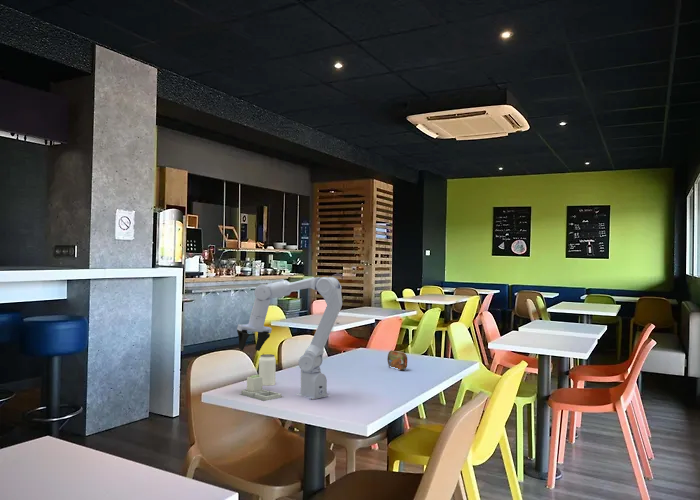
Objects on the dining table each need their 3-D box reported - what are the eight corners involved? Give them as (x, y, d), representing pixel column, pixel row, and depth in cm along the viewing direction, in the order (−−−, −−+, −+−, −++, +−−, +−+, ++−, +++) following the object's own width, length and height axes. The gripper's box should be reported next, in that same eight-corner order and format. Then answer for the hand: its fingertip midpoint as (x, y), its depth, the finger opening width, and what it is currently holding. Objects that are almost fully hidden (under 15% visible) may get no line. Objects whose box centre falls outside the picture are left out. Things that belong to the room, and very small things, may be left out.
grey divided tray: (284, 398, 194) (284, 393, 194) (263, 402, 188) (263, 397, 188) (258, 392, 205) (258, 387, 205) (238, 395, 198) (238, 390, 199)
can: (272, 387, 213) (272, 356, 214) (256, 386, 214) (256, 356, 215) (277, 384, 219) (277, 354, 220) (262, 383, 221) (262, 353, 221)
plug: (262, 393, 199) (262, 375, 200) (253, 395, 196) (253, 377, 197) (255, 392, 202) (256, 374, 202) (246, 393, 199) (247, 375, 199)
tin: (386, 366, 262) (386, 349, 263) (392, 366, 264) (392, 348, 264) (402, 371, 249) (402, 353, 249) (408, 371, 250) (408, 352, 251)
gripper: (267, 313, 214) (258, 347, 214) (236, 310, 203) (227, 345, 204) (278, 319, 209) (269, 353, 209) (247, 316, 198) (237, 351, 199)
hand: (249, 349), depth 206 cm, fingers open, 7 cm apart
